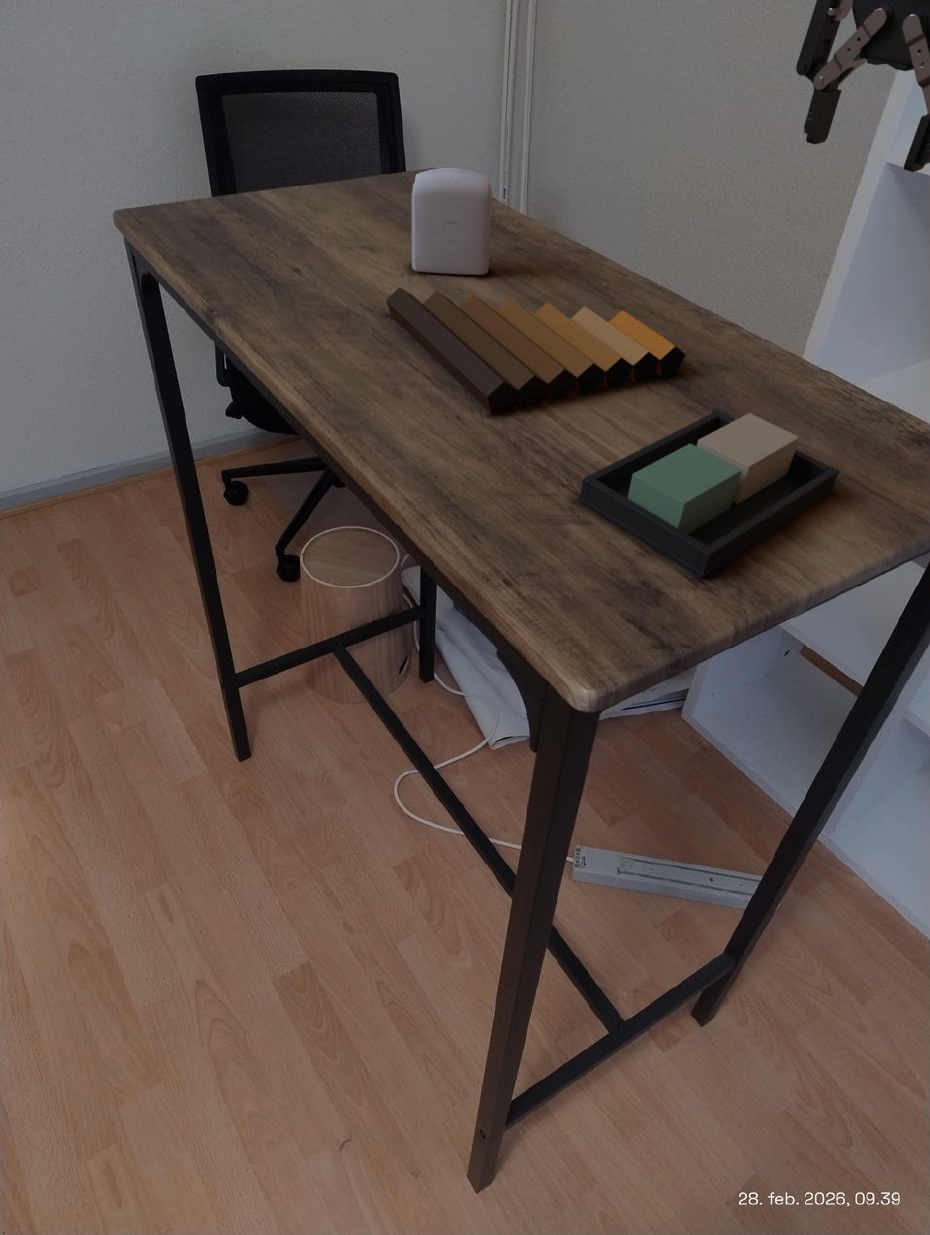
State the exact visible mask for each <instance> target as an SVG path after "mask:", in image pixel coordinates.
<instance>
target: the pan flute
mask: <svg viewBox="0 0 930 1235" xmlns="http://www.w3.org/2000/svg"><path fill="white" fill-rule="evenodd" d="M385 302H386V305H387V307H388V311H389V313H390V317H391V318H393V320H394V321H396V322H397V324H398V325H400V327H401V328H403V329H404V331H405V332H407V333H408V334H409V335H410V336H411V338H413V339H414V340H415V341H416V342H417V343H418V344H419V345H420V346H421V347H422V348H423V349H424V351H426V352H427V353H428V354H429V355H430V356H431V357H433V359H434V360H435V361H437V363H438V364H439V365H440V366H441V367H443V368H444V370H445V371H446V372H447V373H449V375H450V376H452V377H453V378H454V379H455V380H456V381H457V382H458V383H459V384H460V385H461V386H462V387H463V388H464V389H465V390H466V391H467V392H468V393H469V394H470V395H471V396H472V397H473V398H474V399H475V400H476V401H477V402H478V403H479V404H480V405H481V406H482V407H483V408H484V409H485V410H486V411H488V412H489V414H491V415H495V414H499V413H504V412H509V411H511V409H512V407H513V404H514V402H515V403H516V404H517V405H518V406H519V407H521V408H526V407H527V408H528V407H530V406H535V405H540V404H541V403H542V400H543V398H544V396H545V397H546V398H547V399H548V400H550V401H551V402H554V401H559V400H562V399H567V398H570V396H571V394H572V391H573V390H574V391H575V392H576V393H577V394H578V395H579V396H580V395H581V396H582V395H585V394H590V393H594V392H598V390H599V388H600V385H601V384H602V386H604V388H606V389H612V388H616V387H620V386H625V385H626V383H627V381H628V379H630V380H631V381H632V382H633V383H639V382H644V381H648V380H652V378H653V376H654V374H657V375H658V376H659V377H666V376H670V375H675V374H678V373H679V372H678V371H679V370H680V368H681V366H682V363H683V361H684V360H685V357H686V356H687V355H686V353H685V352H684V351H682V350H681V349H680V348H679V347H678V346H676V345H675V344H673V343H672V342H670V340H668V339H666V338H665V337H663V336H662V335H660V334H659V333H657V332H656V331H654V330H653V329H651V327H649V326H647V325H646V324H644V323H642V322H641V321H640V320H638V319H637V318H635V317H634V316H632V315H631V314H629V313H628V312H627V311H625V310H623V309H622V310H620V311H619V312H618V313H617V314H616V315H615V316H614V317H613V318H611V319H610V320H609V321H607V320H605V318H603V317H602V316H600V315H598V314H596V312H594V311H592V310H591V309H589V308H588V307H587V306H586V305H584V306H583V307H582V308H580V309H579V310H578V311H577V312H576V313H575V314H574V315H572V316H571V318H570V317H568V316H567V315H565V314H564V313H563V312H562V311H561V310H559V309H557V308H556V307H555V306H554V305H552V304H551V303H549V302H546V303H544V304H543V305H542V306H541V307H540V308H539V309H538V310H537V311H535V313H534V314H532V313H531V312H530V311H528V310H527V309H526V308H524V307H523V306H522V305H520V304H519V303H518V302H516V301H515V300H513V298H508V299H507V301H505V303H503V304H502V305H501V306H500V307H499V308H497V309H496V310H495V309H494V308H492V307H491V306H490V305H489V304H488V303H487V302H485V301H483V300H482V299H480V298H479V297H478V296H476V295H475V294H472V295H471V296H470V297H468V299H467V300H465V301H464V302H463V303H462V304H461V305H460V306H458V305H457V304H456V303H454V301H452V300H451V299H450V298H448V297H446V296H445V295H443V294H442V293H441V292H439V291H438V290H435V291H434V292H433V293H432V294H431V295H430V296H429V297H428V298H427V299H425V301H424V302H423V303H422V302H421V301H420V300H419V299H418V298H417V297H416V296H414V295H413V294H411V293H410V292H409V291H407V290H405V289H404V288H402V287H401V286H399V287H398V288H396V289H395V291H393V293H391V294H390V296H389V297H387V298H386V299H385Z"/></svg>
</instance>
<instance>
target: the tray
mask: <svg viewBox="0 0 930 1235" xmlns="http://www.w3.org/2000/svg"><path fill="white" fill-rule="evenodd" d="M735 420H736V419H735V418H733V417H731V416H728V415H727V414H724V413H722V412H720V411H719V410H716V411H714V412H711V413H710V414H707V415H706V416H703V417H702V418H700V419H697V420H695V421H694V422H692V423H689V424H688V425H686V426H683V427H682V428H680V429H678V430H676V431H674V432H672V433H670V434H668V435H666V436H664V437H662V438H660V439H658V440H656V441H655V442H652V443H650V444H648V445H646V446H645V447H642V448H640V449H638V450H636V451H635V452H633V453H630V454H629V455H626V456H624V457H623V458H621V459H619V460H617V461H615V462H613V463H611V464H609V465H607V466H605V467H603V468H601V469H599V470H597V471H595V472H593V473H591V474H589V475H587V476H584V478H582V483H581V487H580V488H581V489H580V493H579V494H580V495H579V500H578V502H579V503H580V504H582V505H583V506H585V507H586V508H588V509H590V510H591V511H594V512H595V513H596V514H598V515H599V516H601V517H603V518H605V519H606V520H607V521H609V522H611V523H612V524H614V525H615V526H617V527H619V528H620V529H622V530H624V531H625V532H627V533H628V534H630V535H632V536H633V537H635V538H637V539H638V540H639V541H641V542H643V543H644V544H645V545H647V546H649V547H650V548H652V549H654V550H656V551H658V552H659V553H660V554H662V555H663V556H665V557H667V558H668V559H670V560H672V561H673V562H675V563H676V564H678V565H680V566H681V567H682V568H684V569H686V570H687V571H689V572H691V573H692V574H694V575H695V576H697V577H699V578H701V579H705V578H706V577H707V576H709V575H710V574H712V573H714V572H715V571H716V570H718V569H719V568H721V567H722V566H724V565H726V564H727V563H728V562H730V561H732V560H733V559H735V558H736V557H738V556H739V555H740V554H742V553H744V552H745V551H746V550H748V549H750V548H751V547H752V546H754V545H756V544H758V542H760V541H761V540H763V539H765V538H766V537H767V536H769V535H771V534H772V533H774V532H775V531H777V530H779V529H780V528H781V527H783V526H785V525H786V524H787V523H789V522H790V521H792V520H794V519H795V518H797V517H798V516H799V515H801V514H802V513H803V512H805V511H807V510H808V509H810V508H812V507H813V506H814V505H816V504H817V503H819V502H820V501H822V500H823V499H825V498H826V497H828V496H830V495H831V493H832V491H833V488H834V486H835V483H836V482H837V481H836V480H837V478H838V476H839V473H840V471H839V470H838V469H837V468H834V467H832V466H831V465H828V464H826V463H824V462H822V461H820V460H818V459H817V458H815V457H812V456H810V455H807V454H805V453H803V452H802V451H799V450H797V449H796V450H795V453H794V456H793V459H792V461H791V464H790V467H789V470H788V473H787V474H786V475H785V476H783V477H782V478H780V479H778V480H777V481H775V482H773V483H772V484H770V485H768V486H767V487H765V488H764V489H762V490H760V491H759V492H757V493H755V494H754V495H752V496H750V497H749V498H747V499H746V500H744V501H742V502H741V503H739V504H736V503H734V502H732V504H731V507H730V509H728V510H727V511H725V512H723V513H722V514H720V515H718V516H717V517H715V518H714V519H712V520H710V521H709V522H707V523H705V524H704V525H702V526H701V527H699V528H697V529H696V530H694V531H692V532H691V533H689V534H686V533H684V532H683V531H681V530H679V529H678V528H676V527H674V526H673V525H671V524H669V523H668V522H666V521H664V520H663V519H661V518H659V517H658V516H656V515H654V514H653V513H651V512H649V511H647V510H646V509H644V508H642V507H641V506H639V505H637V504H636V503H634V502H632V501H631V500H629V499H628V494H629V489H630V484H631V480H632V475H633V473H635V472H637V471H639V470H641V469H643V468H645V467H647V466H649V465H651V464H652V463H654V462H656V461H658V460H660V459H662V458H664V457H666V456H668V455H670V454H671V453H673V452H675V451H677V450H679V449H681V448H683V447H685V446H687V445H688V444H693V445H695V446H696V447H697V443H698V440H699V439H701V438H703V437H705V436H707V435H709V434H711V433H712V432H714V431H716V430H718V429H720V428H722V427H724V426H726V425H728V424H730V423H731V422H733V421H735Z"/></svg>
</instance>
